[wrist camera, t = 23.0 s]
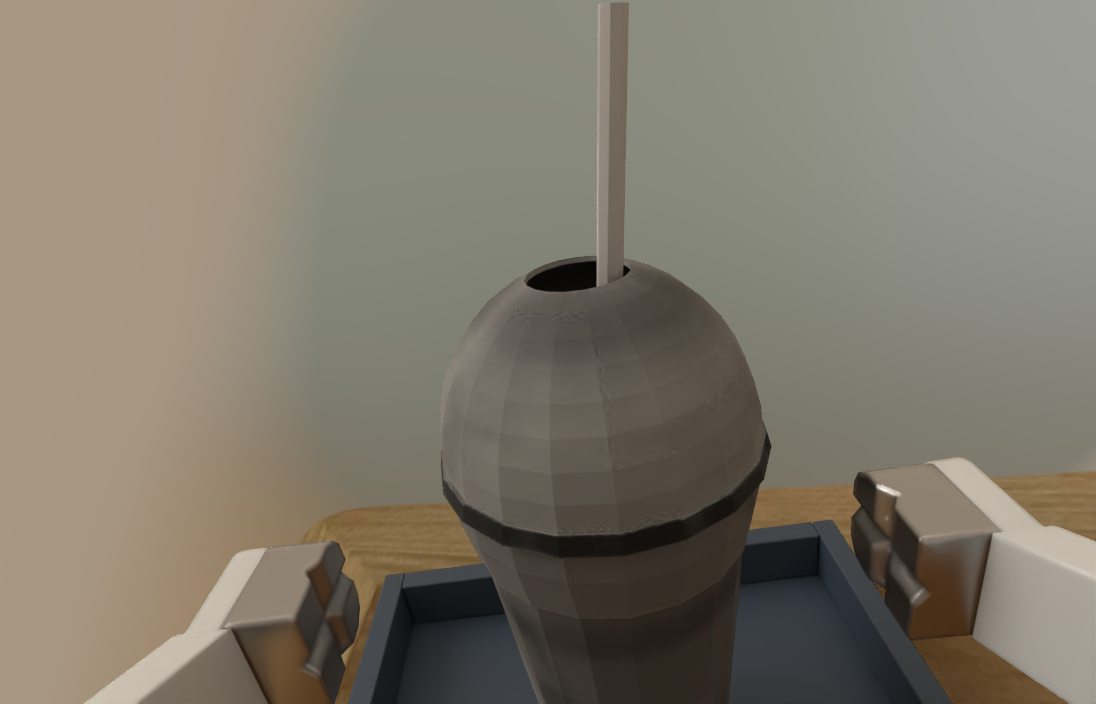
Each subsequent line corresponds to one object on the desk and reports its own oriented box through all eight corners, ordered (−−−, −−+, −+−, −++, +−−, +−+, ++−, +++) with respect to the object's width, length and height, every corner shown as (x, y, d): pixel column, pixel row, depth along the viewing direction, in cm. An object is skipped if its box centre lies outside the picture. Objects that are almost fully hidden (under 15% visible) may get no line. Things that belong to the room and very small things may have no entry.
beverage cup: (557, 640, 23) (439, 46, 15) (765, 669, 21) (765, -14, 12) (488, 867, 17) (213, 56, 8) (775, 942, 14) (789, -63, 6)
